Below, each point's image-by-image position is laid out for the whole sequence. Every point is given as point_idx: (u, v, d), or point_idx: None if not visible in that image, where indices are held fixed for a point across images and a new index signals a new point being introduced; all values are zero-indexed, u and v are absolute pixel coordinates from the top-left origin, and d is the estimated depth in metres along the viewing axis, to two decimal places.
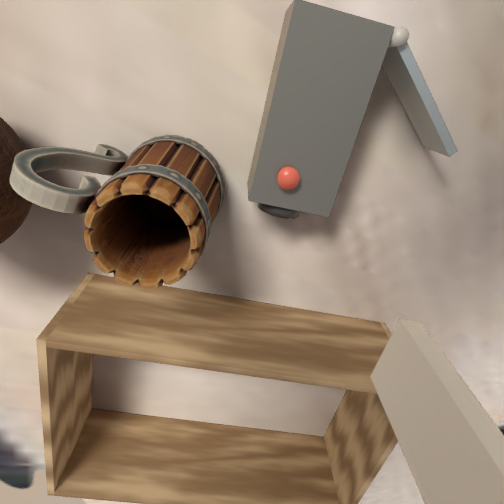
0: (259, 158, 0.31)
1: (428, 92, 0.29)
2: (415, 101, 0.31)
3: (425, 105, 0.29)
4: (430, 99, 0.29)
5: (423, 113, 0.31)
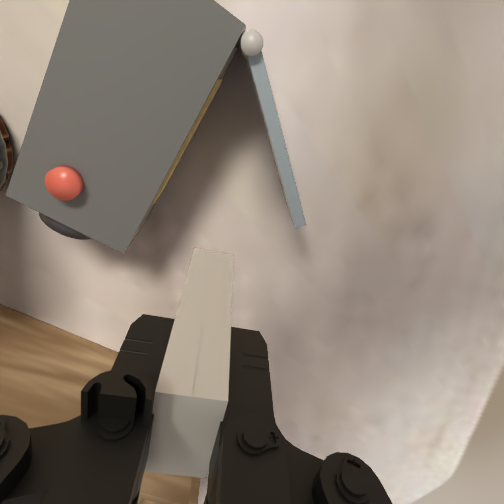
0: (25, 140, 0.20)
1: (281, 136, 0.21)
2: (270, 142, 0.23)
3: (274, 152, 0.21)
4: (282, 146, 0.21)
5: (276, 162, 0.23)
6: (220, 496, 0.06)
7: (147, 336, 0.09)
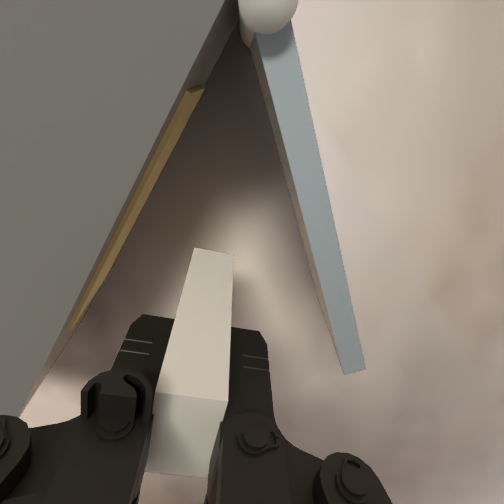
0: None
1: (327, 215, 0.10)
2: (300, 216, 0.11)
3: (312, 246, 0.10)
4: (330, 235, 0.10)
5: (310, 255, 0.11)
6: (220, 496, 0.06)
7: (147, 336, 0.09)
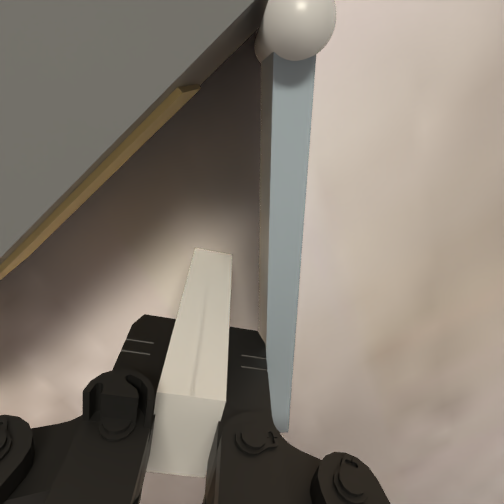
0: None
1: (294, 270, 0.09)
2: (264, 257, 0.10)
3: (269, 296, 0.09)
4: (291, 291, 0.09)
5: (264, 301, 0.10)
6: (218, 496, 0.06)
7: (148, 336, 0.09)
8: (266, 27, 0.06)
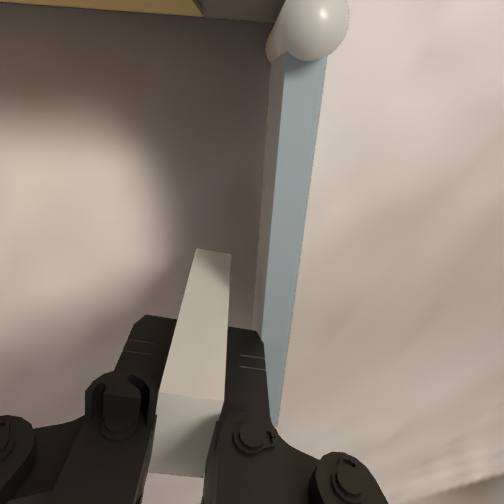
0: None
1: (293, 265, 0.09)
2: (263, 252, 0.10)
3: (267, 290, 0.09)
4: (289, 286, 0.09)
5: (261, 295, 0.10)
6: (216, 496, 0.06)
7: (150, 337, 0.09)
8: (281, 26, 0.06)
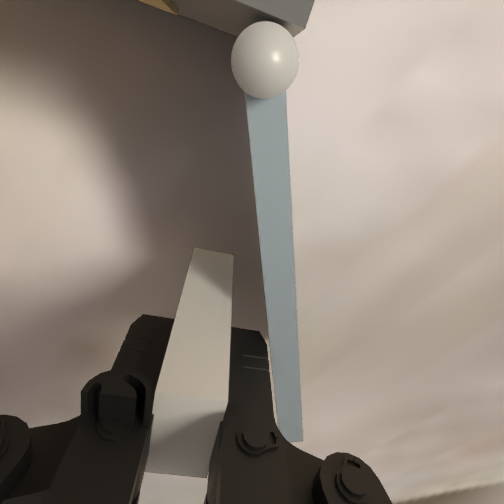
0: None
1: (290, 289, 0.09)
2: None
3: (268, 315, 0.09)
4: (289, 308, 0.09)
5: None
6: (220, 496, 0.06)
7: (147, 336, 0.09)
8: (233, 73, 0.06)
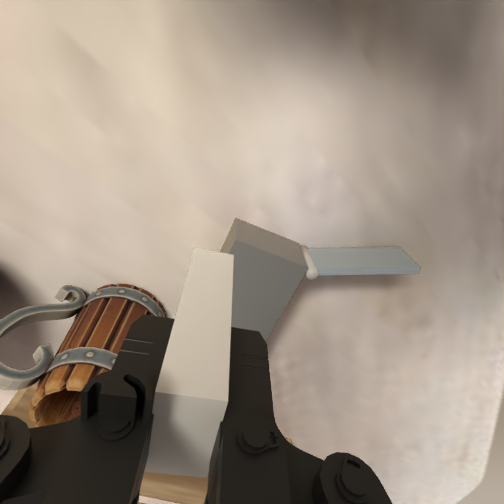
0: None
1: (361, 269, 0.35)
2: None
3: (368, 274, 0.36)
4: (367, 269, 0.35)
5: None
6: (220, 496, 0.06)
7: (147, 336, 0.09)
8: (313, 279, 0.35)
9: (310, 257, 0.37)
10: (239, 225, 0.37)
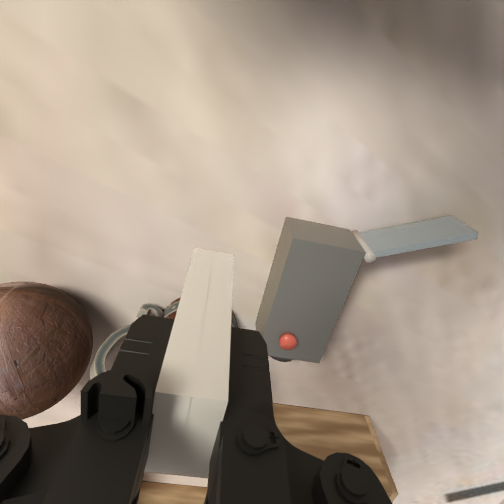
0: (266, 328, 0.40)
1: (417, 244, 0.36)
2: None
3: (425, 248, 0.37)
4: (423, 243, 0.36)
5: None
6: (220, 496, 0.06)
7: (147, 336, 0.09)
8: (371, 262, 0.37)
9: (364, 242, 0.39)
10: (291, 223, 0.39)
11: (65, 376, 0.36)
